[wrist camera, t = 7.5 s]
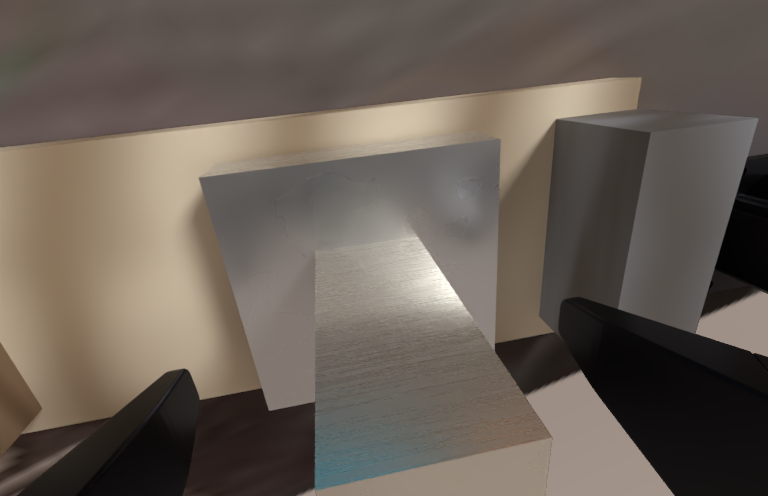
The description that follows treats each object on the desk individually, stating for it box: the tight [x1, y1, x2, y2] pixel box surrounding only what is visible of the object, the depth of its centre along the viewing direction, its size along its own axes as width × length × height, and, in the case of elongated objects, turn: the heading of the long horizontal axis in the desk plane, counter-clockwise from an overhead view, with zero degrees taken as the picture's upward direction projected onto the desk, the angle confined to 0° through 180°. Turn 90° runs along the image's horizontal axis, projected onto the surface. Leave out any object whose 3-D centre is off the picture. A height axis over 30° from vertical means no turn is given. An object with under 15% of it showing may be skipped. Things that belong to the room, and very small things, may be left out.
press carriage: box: [199, 131, 552, 496], centre depth 9 cm, size 8×8×9 cm
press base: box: [0, 77, 759, 458], centre depth 12 cm, size 24×10×6 cm, turn 96°
